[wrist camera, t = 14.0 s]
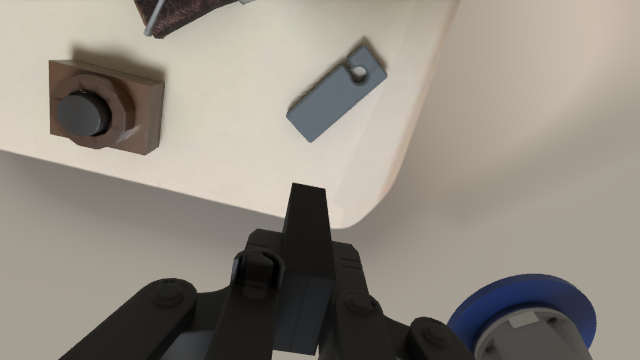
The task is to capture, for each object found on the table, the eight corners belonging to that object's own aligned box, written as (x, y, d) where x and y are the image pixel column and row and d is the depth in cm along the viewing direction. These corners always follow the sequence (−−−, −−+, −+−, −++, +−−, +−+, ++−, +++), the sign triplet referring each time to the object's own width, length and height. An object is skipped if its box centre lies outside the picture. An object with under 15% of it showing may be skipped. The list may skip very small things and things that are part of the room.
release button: (112, 98, 30) (100, 101, 28) (110, 136, 31) (99, 141, 30) (69, 88, 30) (56, 90, 28) (69, 127, 31) (56, 131, 29)
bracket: (285, 113, 36) (284, 116, 34) (361, 44, 34) (364, 43, 32) (310, 139, 37) (310, 144, 35) (384, 74, 35) (389, 76, 33)
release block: (164, 83, 34) (142, 87, 30) (158, 147, 37) (136, 161, 32) (71, 59, 33) (33, 60, 28) (71, 127, 35) (35, 138, 31)
